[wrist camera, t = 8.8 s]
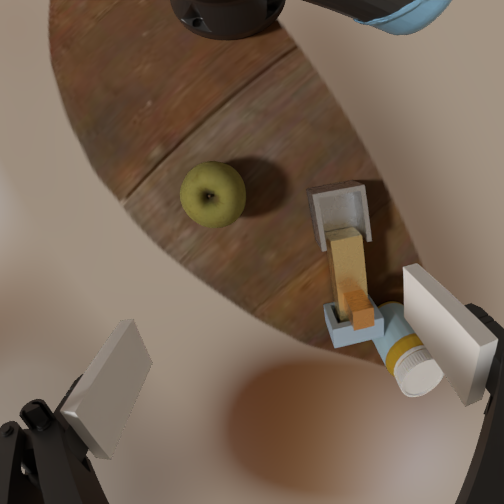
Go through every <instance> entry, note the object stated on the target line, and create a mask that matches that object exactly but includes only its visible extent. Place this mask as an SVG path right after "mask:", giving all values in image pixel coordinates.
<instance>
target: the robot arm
mask: <svg viewBox="0 0 504 504" xmlns="http://www.w3.org/2000/svg"><path fill="white" fill-rule="evenodd" d="M170 1H171V6H172V9H173V11H174V13H175V14H176V16H177V17H178V19H179V20H180V22H181V23H182V24H183V25H184V26H185V27H186V28H187V29H189V30H190V31H192V32H193V33H195V34H197V35H200V36H202V37H206V38H210V39H215V40H235V39H241V38H245V37H248V36H251V35H254V34H256V33H258V32H260V31H262V30H264V29H265V28H267V27H268V26H269V25H271V24H272V23H273V22H274V21H275V20H276V19H277V17H278V16H279V15H280V13H281V11H282V10H283V7H284V5H285V0H170ZM303 1H306V2H309V3H312V4H315V5H318V6H321V7H324V8H327V9H330V10H332V11H335V12H338V13H341V14H343V15H346V16H348V17H351V18H353V19H354V21H356V22H358V23H360V24H365V25H370V26H373V27H375V28H378V29H380V30H382V31H385V32H387V33H390V34H393V35H408V34H412V33H415V32H417V31H419V30H421V29H423V28H425V27H426V26H428V25H429V24H430V23H432V22H433V21H434V20H435V19H436V18H437V17H438V16H439V15H440V14H441V13H442V12H443V11H444V10H445V9H446V7H447V6H448V5H449V4H450V2H451V1H452V0H303ZM403 278H404V318H405V319H406V321H407V322H408V323H409V325H410V326H411V327H412V329H413V330H414V332H415V333H416V334H417V336H418V337H419V339H420V340H421V341H422V343H423V344H424V346H425V347H426V348H427V350H428V351H429V353H430V354H431V356H432V357H433V359H434V360H435V362H436V363H437V364H438V366H439V367H440V369H441V370H442V372H443V373H444V375H445V376H446V378H447V379H448V381H449V382H450V384H451V385H452V387H453V388H454V390H455V392H456V393H457V395H458V396H459V398H460V399H461V401H462V403H463V404H464V406H465V407H466V406H468V405H470V404H473V403H475V402H477V401H479V400H481V399H482V397H483V394H484V391H485V388H486V389H487V390H488V391H489V393H490V397H489V401H488V403H487V406H486V409H485V411H484V414H485V417H484V421H483V425H482V429H481V432H480V436H479V439H478V443H477V446H476V449H475V453H474V456H473V458H472V461H471V465H470V467H469V470H468V473H467V476H466V478H465V481H464V483H463V486H462V488H461V491H460V493H459V496H458V498H457V501H456V503H455V504H504V329H503V328H502V327H501V326H500V325H499V324H498V323H497V322H496V321H494V319H493V318H492V317H491V316H488V314H487V313H486V312H485V311H484V310H483V309H482V308H481V307H478V306H476V305H474V304H472V303H471V304H467V305H463V304H462V303H461V302H460V301H459V300H458V299H457V298H456V297H454V296H453V295H452V294H451V293H450V292H449V291H448V290H447V289H446V288H445V287H444V286H442V285H441V284H440V283H439V282H438V281H437V280H436V279H435V278H433V277H432V276H431V275H430V274H429V273H428V272H427V271H425V270H424V269H423V268H422V267H421V266H420V265H419V264H413V265H408V266H404V267H403ZM151 365H152V360H151V358H150V356H149V354H148V352H147V349H146V347H145V345H144V343H143V340H142V338H141V336H140V334H139V331H138V329H137V327H136V324H135V322H134V319H130V320H122V321H120V322H119V324H118V325H117V327H116V328H115V330H114V331H113V332H112V333H111V335H110V336H109V338H108V339H107V341H106V342H105V344H104V345H103V347H102V348H101V349H100V351H99V352H98V354H97V355H96V357H95V358H94V359H93V361H92V362H91V364H90V365H89V367H88V368H87V370H86V371H85V373H84V374H82V375H81V376H80V377H78V378H77V380H75V381H74V383H73V384H72V386H71V387H70V390H68V392H67V393H66V396H64V398H63V399H62V401H61V403H60V404H59V405H58V407H57V408H56V410H55V412H54V413H52V411H51V410H50V408H49V407H48V406H47V404H46V403H45V401H44V400H41V399H36V400H32V401H30V402H29V403H27V404H26V405H25V406H24V407H23V408H22V410H21V412H20V417H21V418H22V420H23V421H24V422H25V424H26V425H27V426H28V428H29V429H23V430H22V428H21V427H20V426H19V424H18V423H17V422H15V421H10V422H7V423H5V424H3V425H2V426H1V428H0V504H109V502H108V501H107V498H106V496H105V494H104V492H103V490H102V488H101V485H100V483H99V481H98V478H97V476H96V474H95V471H94V469H93V467H92V465H91V462H90V460H89V459H88V457H87V456H86V454H87V451H88V449H89V450H90V451H91V452H92V453H93V455H94V456H95V457H96V458H101V459H110V460H111V459H112V457H113V454H114V451H115V449H116V447H117V444H118V442H119V440H120V437H121V434H122V432H123V430H124V427H125V425H126V423H127V420H128V418H129V416H130V413H131V411H132V409H133V406H134V404H135V402H136V399H137V397H138V395H139V392H140V390H141V388H142V386H143V383H144V381H145V379H146V376H147V374H148V372H149V370H150V368H151ZM21 466H22V467H23V468H24V469H25V474H23V473H22V471H21Z"/></svg>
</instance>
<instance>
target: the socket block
mask: <svg viewBox="0 0 504 504" xmlns="http://www.w3.org/2000/svg"><path fill="white" fill-rule="evenodd" d="M368 299H369V301H370V302H371V304H372V305H373V307H374V324H375V326H372V327H368V328H364V329H360V330H355V331H354V329H353V327H352V325H351V323H350V321H347V322H342V323H338V321H337V318H336V313H335V304H334V302H332V303H328V304H323V305H324V312H325V320H326V324H327V327H328V330H329V333H330V336H331V339H332V342H333V345H334V348H337V347H342V346H346V345H351V344H355V343H359V342H363V341H367V340H371V339H375V338H379V337H383V336H384V317H383V316H382V314H381V313H380V311H379V310H378V308H377V306H376V305H375V303H374V302H373V300H372V299H371V297H370V296H369V294H368Z"/></svg>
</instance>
